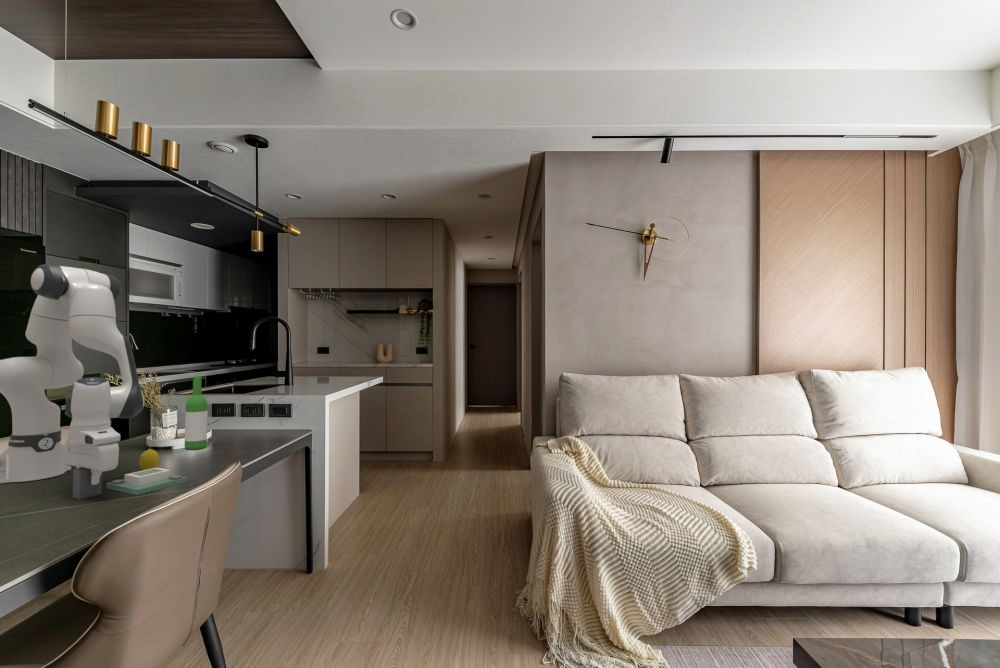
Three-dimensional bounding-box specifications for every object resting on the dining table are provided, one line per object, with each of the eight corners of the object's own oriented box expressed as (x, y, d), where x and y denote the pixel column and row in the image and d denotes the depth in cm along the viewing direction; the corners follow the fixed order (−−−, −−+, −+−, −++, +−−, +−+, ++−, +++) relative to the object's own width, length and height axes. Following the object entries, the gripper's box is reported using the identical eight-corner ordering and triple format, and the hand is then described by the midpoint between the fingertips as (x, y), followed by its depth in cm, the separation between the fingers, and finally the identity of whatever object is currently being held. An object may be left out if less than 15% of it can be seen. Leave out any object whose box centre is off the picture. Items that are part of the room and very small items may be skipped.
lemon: (139, 475, 154) (139, 451, 154) (138, 472, 158) (139, 448, 159) (159, 473, 158) (160, 449, 158) (158, 469, 162) (159, 446, 162)
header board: (106, 488, 141) (106, 475, 141) (156, 476, 153) (156, 464, 154) (137, 495, 135) (138, 481, 135) (186, 482, 148) (186, 469, 148)
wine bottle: (190, 451, 190) (192, 377, 190) (180, 448, 194) (182, 376, 194) (210, 447, 196) (212, 376, 197) (200, 445, 200) (202, 375, 201)
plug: (72, 497, 132) (73, 462, 132) (96, 492, 137) (97, 457, 137) (79, 499, 131) (80, 463, 131) (103, 493, 136) (104, 459, 136)
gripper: (56, 433, 135) (54, 481, 135) (98, 439, 127) (96, 490, 127) (82, 429, 141) (81, 475, 141) (124, 435, 133) (122, 484, 133)
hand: (88, 483), depth 134 cm, fingers closed on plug, 3 cm apart
